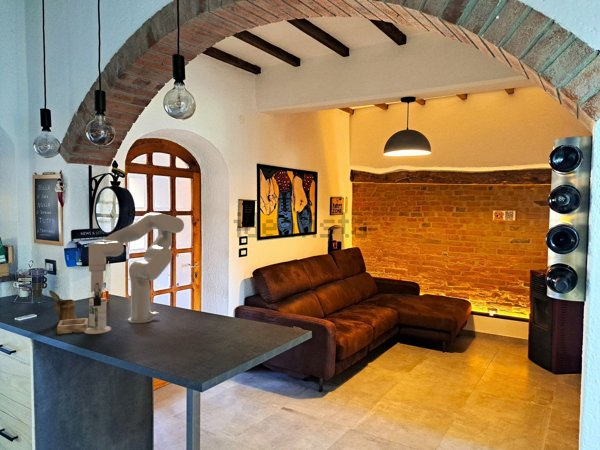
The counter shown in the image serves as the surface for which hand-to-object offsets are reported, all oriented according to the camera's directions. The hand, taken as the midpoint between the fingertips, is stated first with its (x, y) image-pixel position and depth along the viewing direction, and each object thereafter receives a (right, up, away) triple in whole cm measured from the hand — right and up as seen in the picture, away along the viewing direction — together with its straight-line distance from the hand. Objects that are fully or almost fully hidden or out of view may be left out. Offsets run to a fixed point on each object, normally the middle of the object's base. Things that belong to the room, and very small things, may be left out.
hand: (97, 303), depth 210 cm
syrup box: (0, -12, +1) cm, 12 cm away
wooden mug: (-24, -12, +12) cm, 29 cm away
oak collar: (-13, -13, +2) cm, 18 cm away
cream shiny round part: (0, -13, 0) cm, 13 cm away
